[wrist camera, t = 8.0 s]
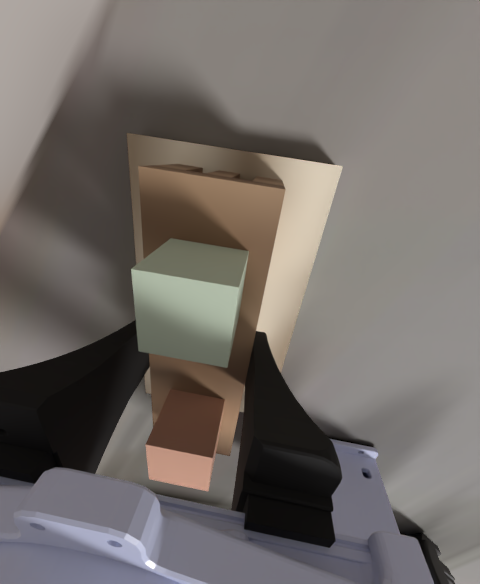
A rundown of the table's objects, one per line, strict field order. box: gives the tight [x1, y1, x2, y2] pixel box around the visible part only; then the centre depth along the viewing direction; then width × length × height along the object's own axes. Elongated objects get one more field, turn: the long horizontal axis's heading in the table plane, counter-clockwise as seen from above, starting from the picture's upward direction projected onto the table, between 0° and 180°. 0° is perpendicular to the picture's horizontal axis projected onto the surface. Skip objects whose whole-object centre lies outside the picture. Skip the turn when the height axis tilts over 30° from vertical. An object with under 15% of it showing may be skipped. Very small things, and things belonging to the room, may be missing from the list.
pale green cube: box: [131, 238, 249, 368], centre depth 9 cm, size 3×3×3 cm
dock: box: [127, 133, 343, 412], centre depth 16 cm, size 10×18×2 cm, turn 172°
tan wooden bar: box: [138, 164, 286, 456], centre depth 14 cm, size 16×5×4 cm, turn 172°
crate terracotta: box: [146, 389, 225, 491], centre depth 13 cm, size 3×3×3 cm
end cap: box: [411, 534, 455, 584], centre depth 28 cm, size 10×7×7 cm
